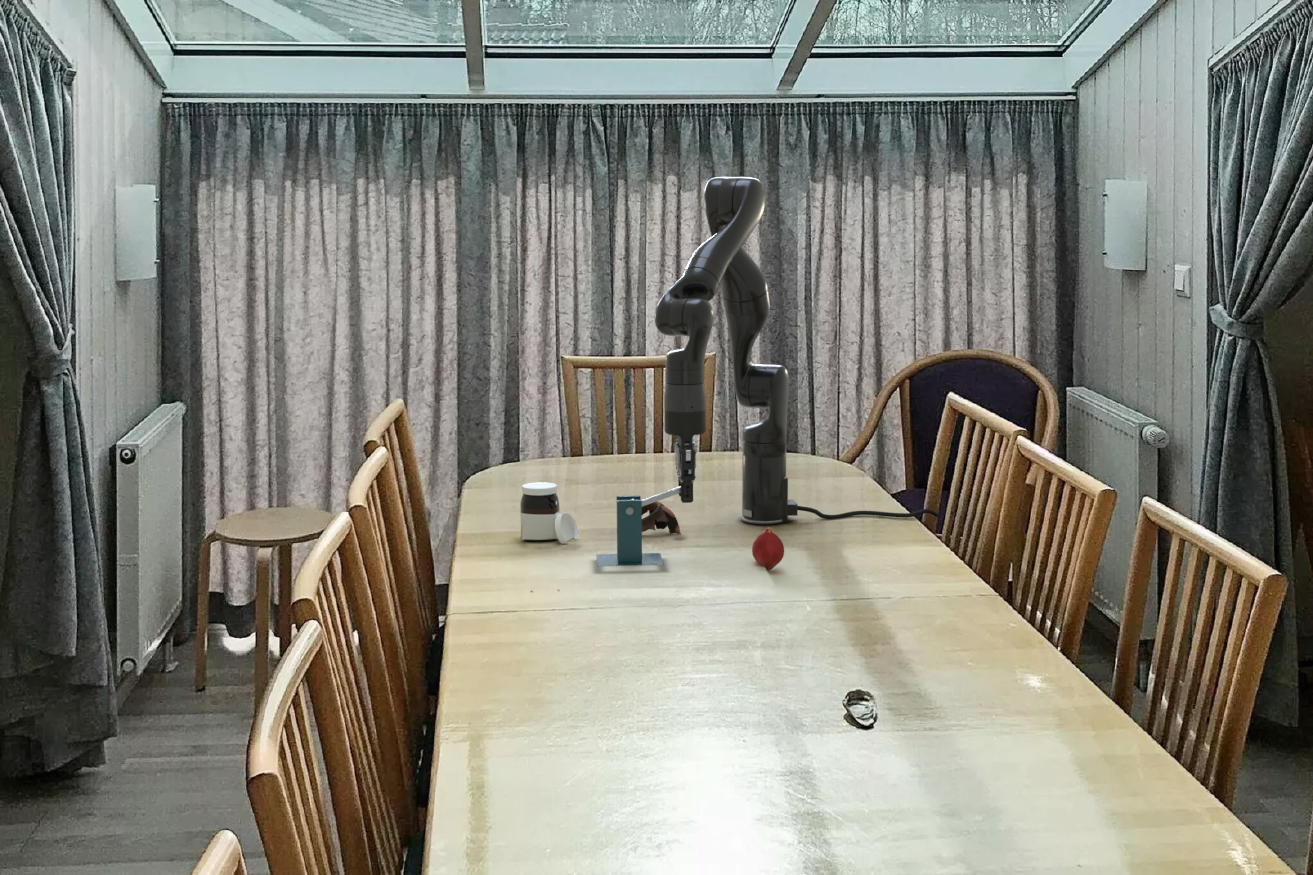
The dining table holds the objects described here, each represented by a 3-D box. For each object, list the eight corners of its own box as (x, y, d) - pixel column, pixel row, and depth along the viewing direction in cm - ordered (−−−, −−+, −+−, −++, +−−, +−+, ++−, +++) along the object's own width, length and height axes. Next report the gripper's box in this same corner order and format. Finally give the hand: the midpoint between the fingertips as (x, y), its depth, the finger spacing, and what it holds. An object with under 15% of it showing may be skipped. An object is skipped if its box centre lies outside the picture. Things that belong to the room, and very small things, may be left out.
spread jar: (521, 538, 278) (520, 481, 277) (577, 536, 279) (577, 480, 277) (520, 551, 267) (519, 492, 265) (579, 550, 267) (578, 491, 266)
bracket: (660, 559, 260) (660, 492, 258) (663, 571, 251) (663, 502, 249) (596, 561, 259) (595, 493, 257) (597, 572, 250) (596, 503, 248)
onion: (749, 566, 254) (750, 524, 253) (780, 565, 255) (781, 523, 253) (754, 574, 248) (755, 531, 247) (786, 573, 249) (786, 530, 248)
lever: (690, 489, 256) (686, 477, 256) (692, 495, 251) (688, 482, 251) (623, 513, 256) (619, 501, 256) (624, 519, 251) (620, 507, 251)
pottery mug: (683, 545, 273) (664, 511, 271) (642, 563, 276) (621, 530, 273) (686, 517, 284) (667, 485, 282) (646, 535, 287) (627, 503, 284)
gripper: (709, 412, 244) (710, 506, 247) (701, 402, 258) (702, 491, 261) (667, 413, 244) (668, 507, 246) (661, 402, 258) (662, 492, 261)
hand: (685, 498), depth 254 cm, fingers closed on lever, 5 cm apart
